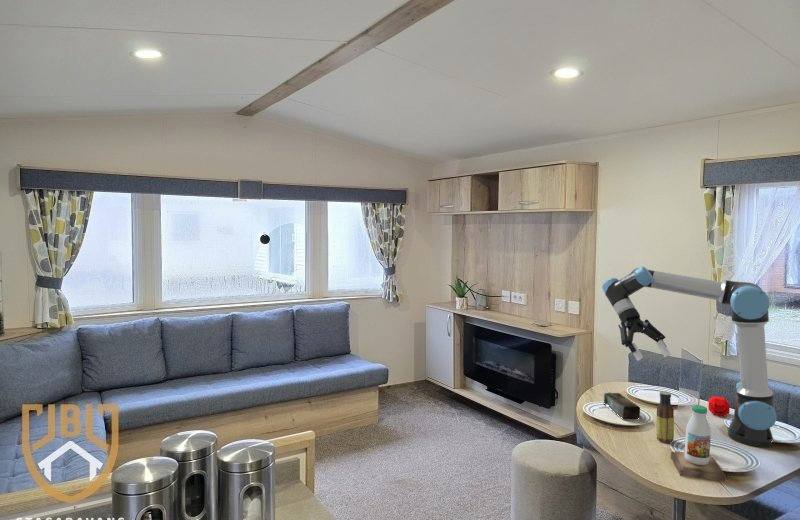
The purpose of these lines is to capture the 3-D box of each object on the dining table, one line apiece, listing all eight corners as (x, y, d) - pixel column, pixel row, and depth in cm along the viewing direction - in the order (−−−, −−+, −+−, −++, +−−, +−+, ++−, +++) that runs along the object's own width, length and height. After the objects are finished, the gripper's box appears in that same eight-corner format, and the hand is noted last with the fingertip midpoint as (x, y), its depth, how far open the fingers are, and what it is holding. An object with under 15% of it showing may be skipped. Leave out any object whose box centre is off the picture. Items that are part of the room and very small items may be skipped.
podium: (712, 462, 190) (712, 454, 190) (725, 481, 176) (725, 472, 176) (670, 457, 194) (670, 449, 193) (680, 475, 180) (680, 467, 180)
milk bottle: (679, 457, 187) (682, 404, 185) (695, 454, 190) (698, 401, 188) (698, 467, 180) (701, 412, 178) (714, 463, 182) (717, 409, 181)
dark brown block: (619, 404, 247) (619, 391, 246) (640, 420, 228) (641, 406, 227) (603, 404, 246) (603, 391, 246) (623, 421, 227) (623, 406, 227)
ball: (708, 415, 233) (709, 399, 232) (707, 409, 240) (708, 393, 239) (729, 419, 229) (730, 402, 228) (728, 412, 236) (729, 396, 235)
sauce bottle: (671, 438, 210) (673, 390, 208) (675, 444, 204) (677, 396, 202) (653, 436, 212) (656, 389, 210) (657, 442, 206) (659, 394, 204)
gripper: (645, 315, 219) (672, 359, 206) (597, 319, 211) (623, 365, 198) (655, 305, 213) (684, 349, 201) (607, 309, 205) (634, 355, 192)
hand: (654, 357), depth 199 cm, fingers open, 13 cm apart
